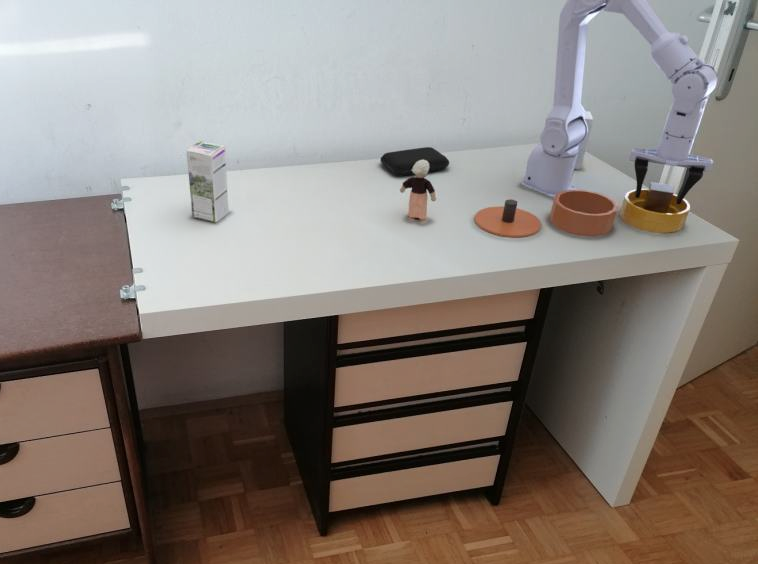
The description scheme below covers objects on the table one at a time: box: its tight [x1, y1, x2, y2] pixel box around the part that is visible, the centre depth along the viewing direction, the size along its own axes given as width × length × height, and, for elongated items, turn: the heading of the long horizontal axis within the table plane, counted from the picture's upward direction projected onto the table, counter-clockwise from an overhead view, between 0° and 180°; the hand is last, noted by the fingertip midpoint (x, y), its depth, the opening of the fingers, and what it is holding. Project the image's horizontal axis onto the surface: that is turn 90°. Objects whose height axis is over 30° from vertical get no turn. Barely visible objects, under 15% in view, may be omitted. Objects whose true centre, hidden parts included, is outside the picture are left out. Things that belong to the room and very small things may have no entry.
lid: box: [474, 198, 542, 238], centre depth 146 cm, size 13×13×5 cm
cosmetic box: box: [574, 110, 594, 170], centre depth 170 cm, size 6×4×12 cm
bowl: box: [619, 188, 691, 234], centre depth 148 cm, size 12×12×4 cm
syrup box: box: [186, 141, 230, 223], centre depth 145 cm, size 6×6×14 cm
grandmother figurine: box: [399, 160, 437, 222], centre depth 145 cm, size 8×4×13 cm, turn 71°
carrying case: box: [379, 146, 450, 177], centre depth 171 cm, size 11×3×15 cm
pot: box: [549, 189, 619, 237], centre depth 146 cm, size 12×12×5 cm
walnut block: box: [643, 181, 674, 213], centre depth 147 cm, size 4×4×7 cm
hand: (657, 199), depth 147 cm, fingers open, 7 cm apart
